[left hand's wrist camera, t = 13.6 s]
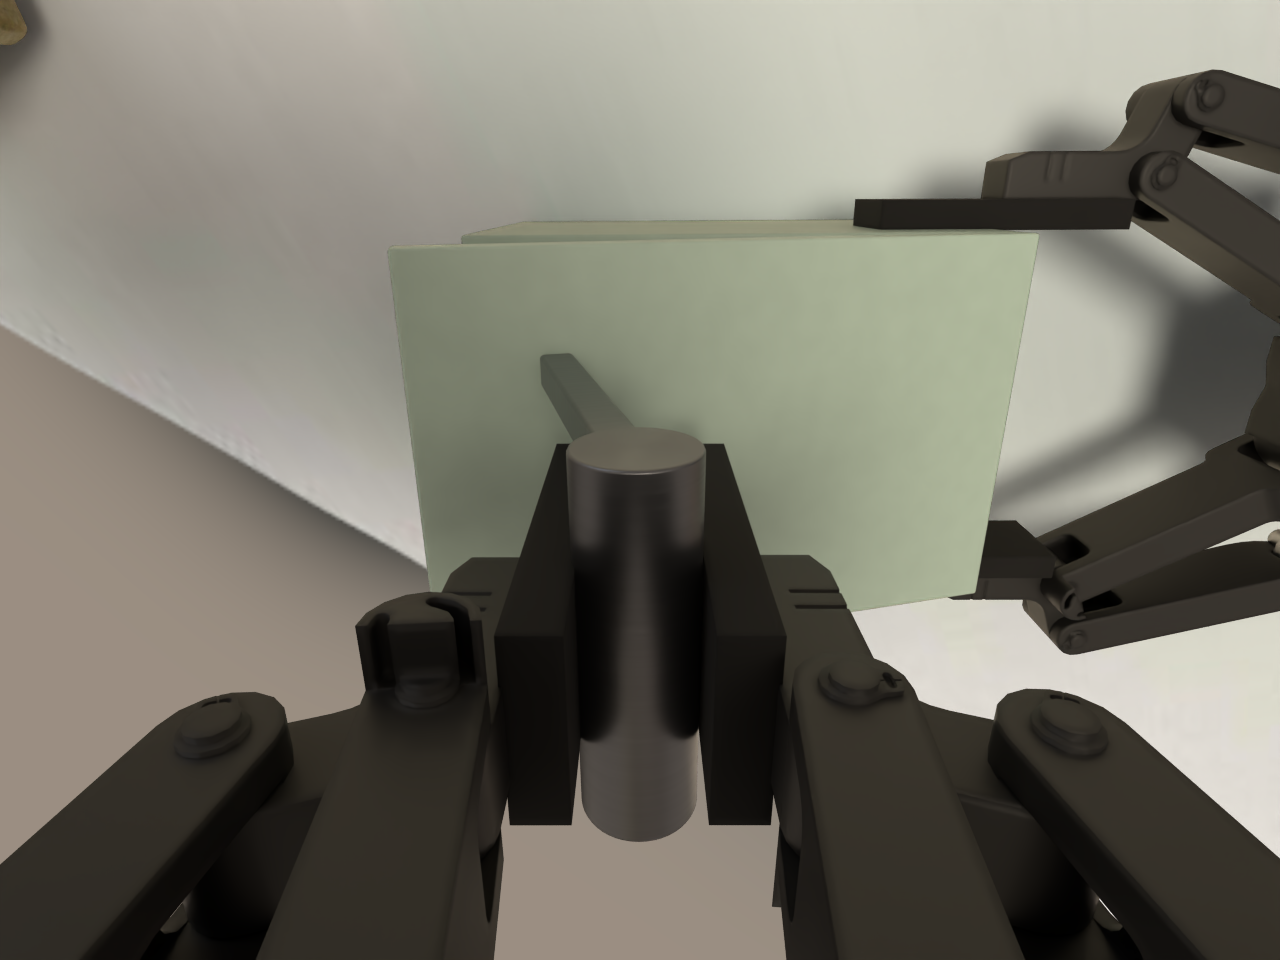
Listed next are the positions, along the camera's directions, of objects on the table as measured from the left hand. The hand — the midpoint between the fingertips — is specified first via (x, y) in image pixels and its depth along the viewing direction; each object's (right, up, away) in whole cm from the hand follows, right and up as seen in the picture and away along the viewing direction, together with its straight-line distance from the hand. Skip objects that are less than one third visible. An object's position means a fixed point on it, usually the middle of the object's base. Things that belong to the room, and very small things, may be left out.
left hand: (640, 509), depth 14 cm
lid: (+2, +1, +4) cm, 4 cm away
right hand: (+6, +3, +8) cm, 11 cm away
